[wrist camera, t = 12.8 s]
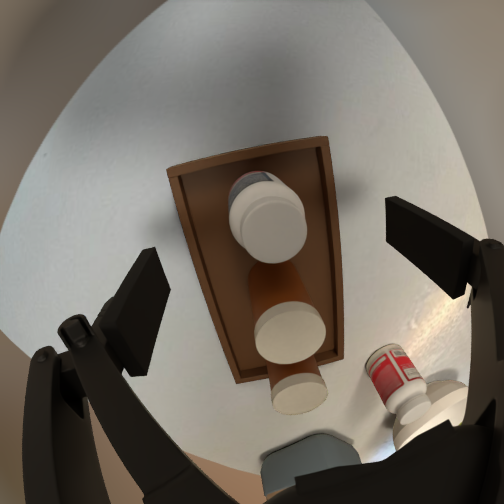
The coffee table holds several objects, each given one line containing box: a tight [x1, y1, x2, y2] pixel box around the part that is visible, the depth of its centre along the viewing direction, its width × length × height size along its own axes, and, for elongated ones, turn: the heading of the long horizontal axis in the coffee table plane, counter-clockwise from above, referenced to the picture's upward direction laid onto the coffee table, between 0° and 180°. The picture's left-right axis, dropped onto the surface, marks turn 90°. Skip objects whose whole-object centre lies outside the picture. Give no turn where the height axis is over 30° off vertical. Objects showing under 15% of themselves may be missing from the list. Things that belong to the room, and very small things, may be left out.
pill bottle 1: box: [228, 171, 307, 263], centre depth 21 cm, size 5×5×9 cm
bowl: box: [393, 380, 468, 451], centre depth 39 cm, size 19×19×9 cm
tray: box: [166, 136, 344, 384], centre depth 27 cm, size 26×14×2 cm, turn 11°
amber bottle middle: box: [248, 260, 326, 364], centre depth 24 cm, size 5×5×9 cm
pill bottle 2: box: [366, 344, 431, 425], centre depth 31 cm, size 6×6×11 cm
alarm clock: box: [261, 434, 362, 500], centre depth 35 cm, size 17×17×23 cm
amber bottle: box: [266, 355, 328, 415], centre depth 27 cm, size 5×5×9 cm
